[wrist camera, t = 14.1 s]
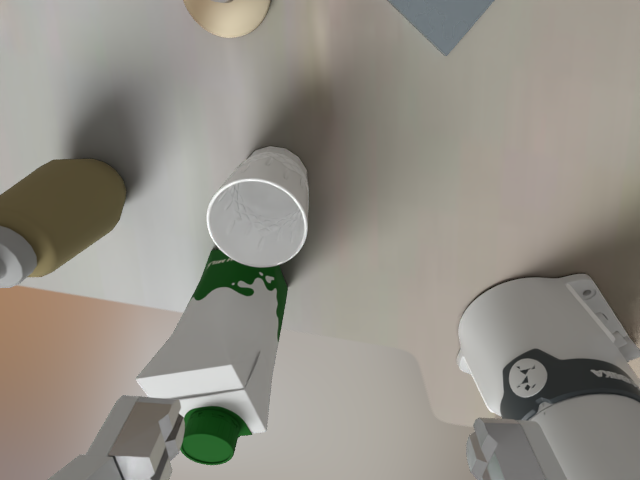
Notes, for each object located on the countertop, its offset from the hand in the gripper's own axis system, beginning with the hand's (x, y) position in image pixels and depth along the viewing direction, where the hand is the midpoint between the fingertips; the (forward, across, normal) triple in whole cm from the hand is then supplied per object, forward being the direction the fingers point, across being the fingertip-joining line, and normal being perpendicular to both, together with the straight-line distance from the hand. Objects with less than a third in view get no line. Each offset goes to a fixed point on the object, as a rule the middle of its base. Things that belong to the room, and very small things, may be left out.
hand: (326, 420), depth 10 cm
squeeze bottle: (+29, +24, +6) cm, 38 cm away
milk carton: (+29, +9, +16) cm, 34 cm away
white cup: (+29, +6, +5) cm, 30 cm away
